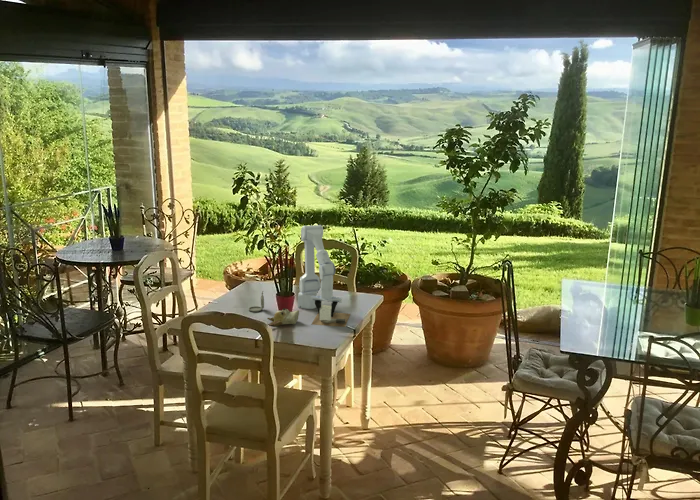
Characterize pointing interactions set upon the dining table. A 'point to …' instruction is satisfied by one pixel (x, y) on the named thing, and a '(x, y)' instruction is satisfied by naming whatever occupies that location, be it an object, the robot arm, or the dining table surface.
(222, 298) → the dining table surface
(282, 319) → the ceramic sculpture
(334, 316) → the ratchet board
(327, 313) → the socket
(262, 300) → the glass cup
